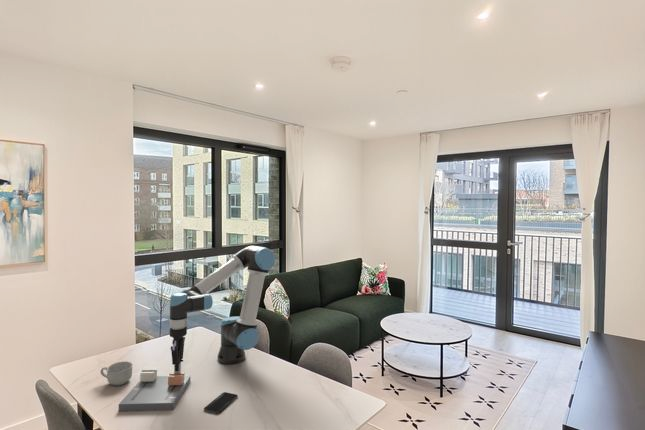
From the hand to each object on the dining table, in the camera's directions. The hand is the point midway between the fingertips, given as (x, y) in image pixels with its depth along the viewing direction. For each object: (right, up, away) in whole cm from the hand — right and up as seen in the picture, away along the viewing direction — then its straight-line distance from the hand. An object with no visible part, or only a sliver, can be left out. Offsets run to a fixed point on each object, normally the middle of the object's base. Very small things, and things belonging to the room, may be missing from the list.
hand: (177, 376), depth 167 cm
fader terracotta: (0, -2, -3) cm, 3 cm away
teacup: (-31, -5, +4) cm, 32 cm away
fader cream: (-14, -1, 0) cm, 14 cm away
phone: (+24, -6, -13) cm, 28 cm away
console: (-6, -5, -7) cm, 11 cm away
